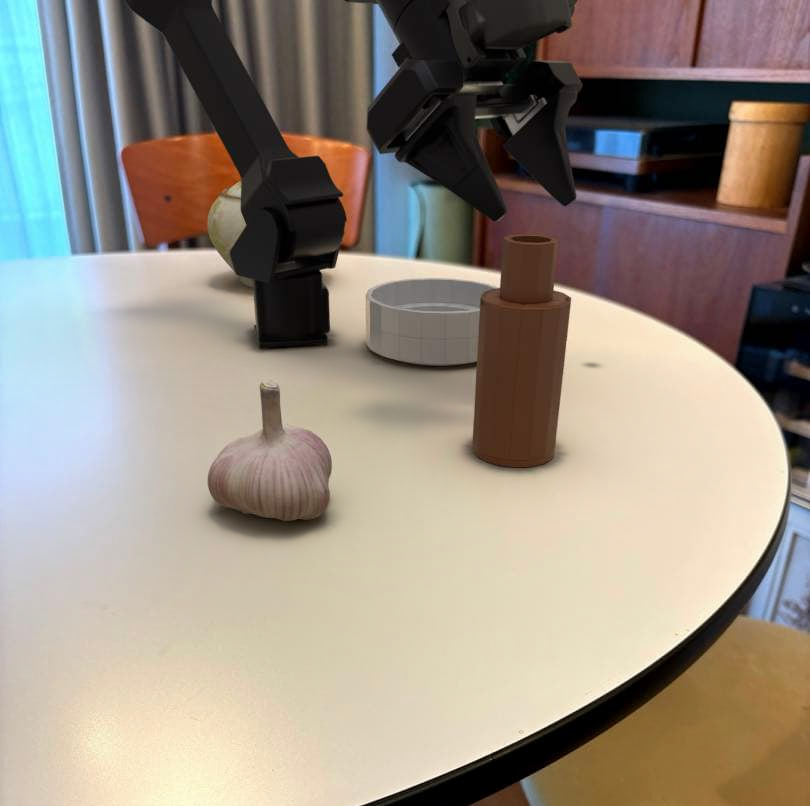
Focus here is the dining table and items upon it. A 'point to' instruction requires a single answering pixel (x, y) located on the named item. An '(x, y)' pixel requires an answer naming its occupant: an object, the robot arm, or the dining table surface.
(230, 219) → the sugar bowl
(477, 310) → the dish
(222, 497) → the garlic bulb
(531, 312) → the bottle
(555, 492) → the dining table surface
